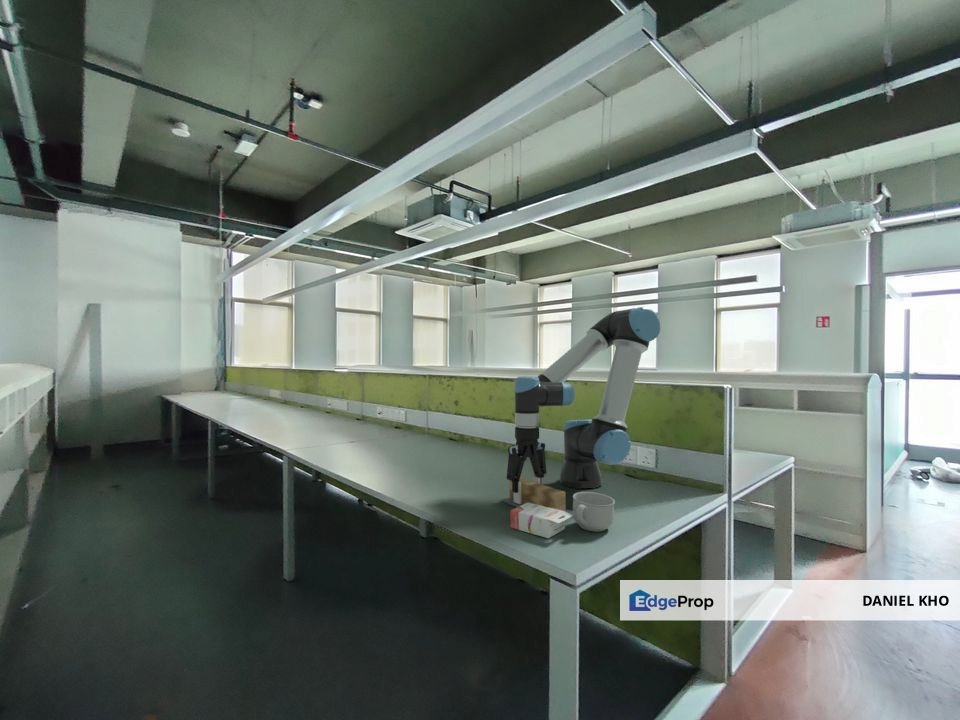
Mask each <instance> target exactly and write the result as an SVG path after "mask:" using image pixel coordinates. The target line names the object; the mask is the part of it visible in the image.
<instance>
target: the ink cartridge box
mask: <svg viewBox="0 0 960 720" xmlns="http://www.w3.org/2000/svg"><path fill="white" fill-rule="evenodd" d="M509 512H510V513H509V515H510V516H509V517H510V529H514V530H518V531H522V532H524V533H525V532H526V533H529V534H531V535H536V536H538V537H539V536H540V537H542V538H544V539H545V538H546V539H550V538H551V537H553V536H556V534H559V533H561V532H562V531H564V530H566V524H565V522H566V521H567V520H568V519H570V518H572V517H573V516H574V515H573V514H571V513H568V512H565V511H562V510H558V509H553V508H549V507H545V506H541V505H536V504H532V503H525V504H523V505H521V506H519V507H514V508H513V509H511V510H510V511H509ZM564 516H565V517H564Z"/></svg>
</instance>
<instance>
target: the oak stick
mask: <svg viewBox="0 0 960 720" xmlns="http://www.w3.org/2000/svg"><path fill="white" fill-rule="evenodd" d="M519 482H521V503H524V504H525V503H532V504H536V505H541V506H545V507H549V508H553V509H558V510H562V511H565V512H566V509H567V507H566V505H567V503H566V502H567V499H566V498H567V497H566V495H567V493H566V491H564V490H560V489H557V488H555V487H551V486H548V485H545V484H542V483H541V484H539V483H536V482H533V480H529V479H526V478H523V477H520V480H519ZM509 497H510V498H511V499H514V492H513V491H512V481H510V480H509Z"/></svg>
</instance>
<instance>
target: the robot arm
mask: <svg viewBox="0 0 960 720" xmlns="http://www.w3.org/2000/svg"><path fill="white" fill-rule="evenodd" d="M660 332H661V322H660V318H658V314H657V313H656V312H655V311H654V310H653V309H651V308H650V307H646V306H637V307H636V306H635V307H632V308H629V309H624V310H616V311H613V312H611V313H608V314H607V315H605V316H604V317H603V318H601V319H600V320H598V322H596V323H594V325H593V326H591V327H590V328H589V329H588V330H587V331H586V335H585V336H584V337H582V338H581V339H580V340H579V341H578V342H577V343H576V344H574V346H572V347H571V348H569V349H568V350H567V351H566V352H565V353H564V354H563V355H562V356H561V357H559V358H558V359H556V361H554V362H553V363H552V364H551V365H549V367H548V368H546V369H545V370H543V371H542V373H540V374H538V375H537V376H518V377H516V378H515V381H514V390H513V391H514V425H515V427H514V438H515V441H516V443H515V445H514V446H508V448H507V451H508V452H507V453H508V459H507V460H508V461H507V469H506V470H507V472H506V479H507V480H508V481H509V482H510V481H512V491H513V492H514V502H515V503H518V504H521V482H519V480H520V478H521V476H522V472H523V468H524V465H525V461H527V459H528V458H529V461H530V464H531V466H532V467H531V468H532V471H533V474H534V475H533V476H532V481H533V482H536V483H539V484H542V479H544V477H545V475H547V473H548V472H547V463H546V453H545V451H546V450H545V449H546V444H545V443H543V442H539V439H540V428H539V425H540V407H564V406H565V407H566V406H570V405H572V404H573V402H574V399H575V389H574V386H573V385H572V384H571V383H569V382H566V381H567V380H568V379H569V378H570V377H572V376H573V375H574V374H575V373H576V372H577V371H578V370H579V369H581V368H582V367H583V366H584V365H585V364H587V363H588V362H589V361H590V360H591V359H592V358H594V357H595V356H596V355H598V353H599V352H601V351H603V352H604V351H606V350H607V349H608V348H610V347H611V346H614V347H615V350H614V354H613V358H612V362H611V365H610V369H609V373H608V375H607V376H608V377H607V380H606V384H605V389H604V391H603V396H602V398H601V399H602V400H601V402H600V403H601V404H600V406H599V411H598V414H597V415H595V416H593V417H592V419H571V420H566V421H565V422H564V426H563V435H564V436H563V438H564V440H563V448H564V449H563V451H564V453H563V455H564V457H563V458H564V461H563V464H562V467H561V470H560V471H561V472H560V474H559V484H561V485H562V484H563V486H564V485H565V487H567V486H569V487H568V488H571V487H573V489H578V488H593V489H597V488H596V487H598V488H600V487H599V486H601V485H602V486H603V477H602V475H601V471H600V468H599V464H598V462H599V463H600V464H602V465H603V464H605V465H610V466H613V465H614V466H615V465H618V464H620V463H621V462H624V461H625V460H626V459H627V457H629V454H630V452H631V448H632V442H631V440H630V436H629V435H628V434H627V433H628V425H627V424H626V422H625V420H626V416H627V413H628V408H629V404H630V401H631V397H632V392H633V390H634V386H635V381H636V377H637V373H638V370H639V366H640V361H641V358H642V354H643V353H645V352H647V351H648V349H649V346H650V342H652V341H654V340H655V339H656V338H658V336H659V335H660ZM602 486H601V487H602Z"/></svg>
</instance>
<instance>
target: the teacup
mask: <svg viewBox="0 0 960 720" xmlns="http://www.w3.org/2000/svg"><path fill="white" fill-rule="evenodd" d="M615 504H616V500H615V499H614V498H612V497H611V496H609V495H606V494H603V493H601V492H593V491H580V492H575V493H573V494H572V511H573V515H574V516H572V517H573V520H574V522H576V524H577V525H579V527H580V528H581V529H583V530H586V531H589V532H595V533H596V532H597V533H598V532H599V533H600V532H603V531H606V529H608V528H610V527H611V526H612V524H613V521H614V516H615Z"/></svg>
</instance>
